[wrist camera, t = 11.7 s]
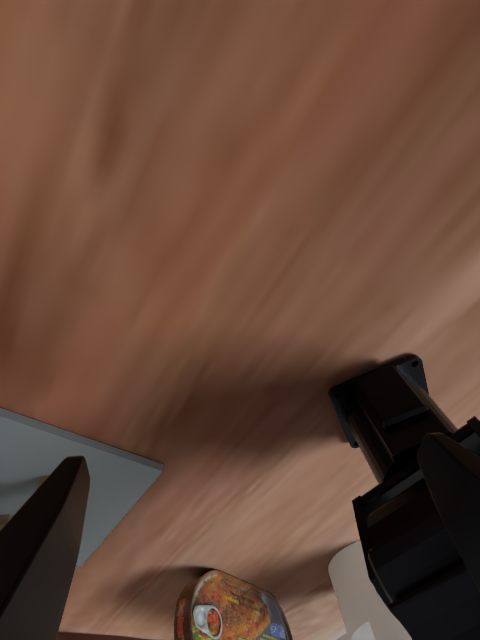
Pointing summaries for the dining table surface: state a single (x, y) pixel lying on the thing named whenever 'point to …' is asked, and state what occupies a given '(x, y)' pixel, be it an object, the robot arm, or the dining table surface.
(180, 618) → the tin
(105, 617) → the dining table surface
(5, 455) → the mat
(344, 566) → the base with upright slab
